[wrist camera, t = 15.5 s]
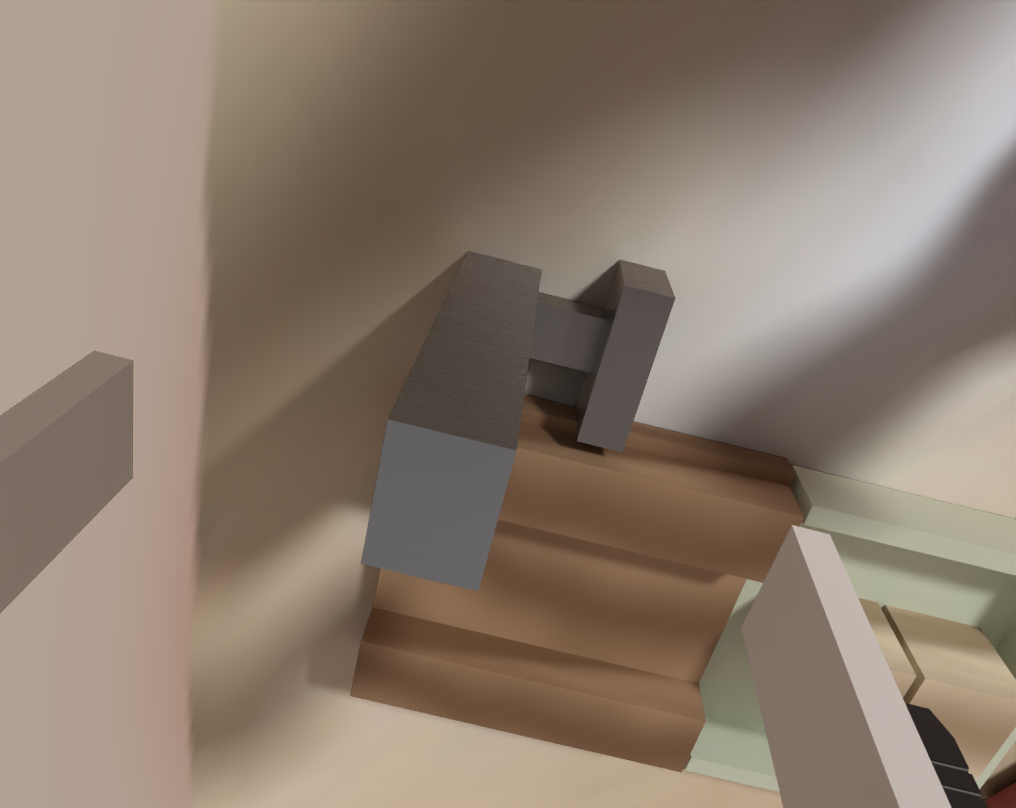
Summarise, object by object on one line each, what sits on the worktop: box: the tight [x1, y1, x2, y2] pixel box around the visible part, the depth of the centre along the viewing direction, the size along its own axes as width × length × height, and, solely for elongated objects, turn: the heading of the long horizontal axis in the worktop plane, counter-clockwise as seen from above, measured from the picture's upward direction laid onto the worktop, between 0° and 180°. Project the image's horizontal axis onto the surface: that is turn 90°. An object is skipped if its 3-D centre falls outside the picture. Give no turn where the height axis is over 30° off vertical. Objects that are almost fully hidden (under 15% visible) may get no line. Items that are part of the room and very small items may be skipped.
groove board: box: [350, 395, 804, 772], centre depth 31 cm, size 14×14×3 cm
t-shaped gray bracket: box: [361, 252, 675, 591], centre depth 22 cm, size 6×7×13 cm
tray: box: [684, 465, 1016, 792], centre depth 32 cm, size 14×12×3 cm
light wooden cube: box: [882, 605, 1016, 779], centre depth 31 cm, size 4×4×4 cm
